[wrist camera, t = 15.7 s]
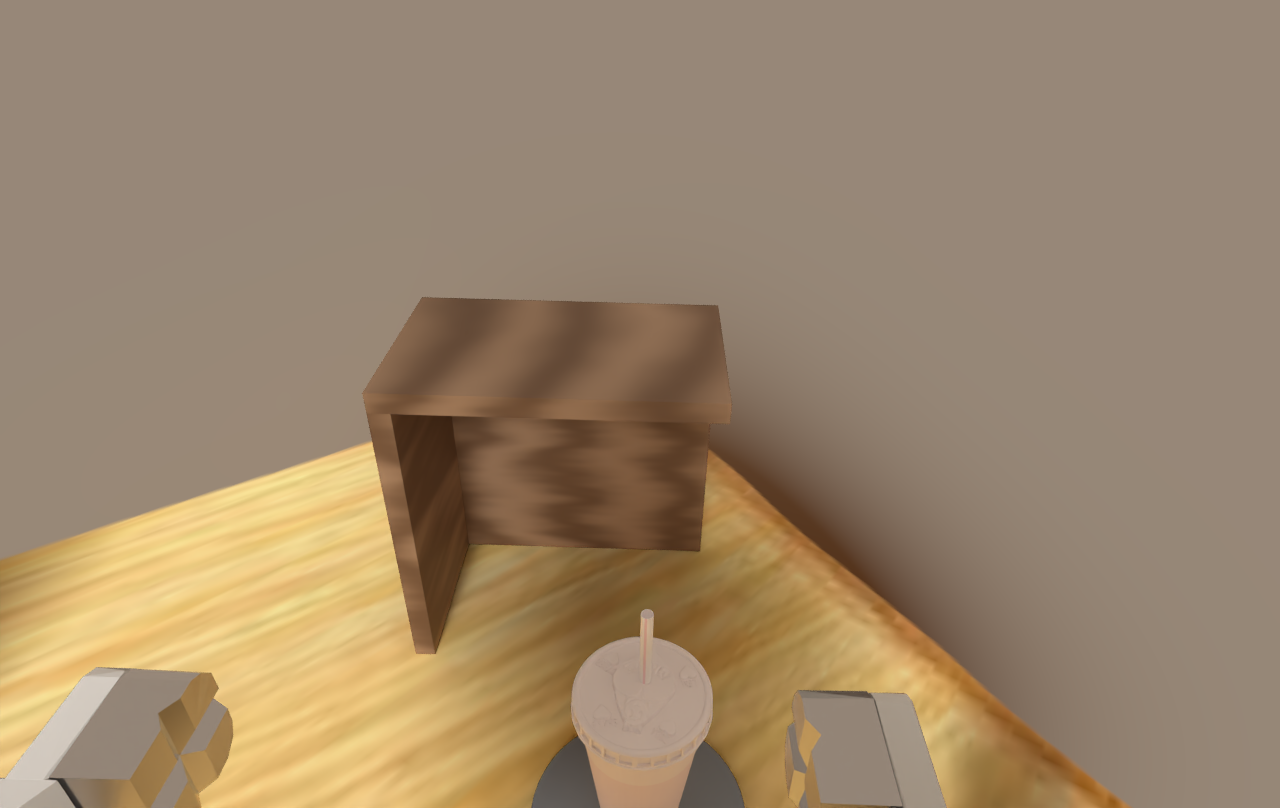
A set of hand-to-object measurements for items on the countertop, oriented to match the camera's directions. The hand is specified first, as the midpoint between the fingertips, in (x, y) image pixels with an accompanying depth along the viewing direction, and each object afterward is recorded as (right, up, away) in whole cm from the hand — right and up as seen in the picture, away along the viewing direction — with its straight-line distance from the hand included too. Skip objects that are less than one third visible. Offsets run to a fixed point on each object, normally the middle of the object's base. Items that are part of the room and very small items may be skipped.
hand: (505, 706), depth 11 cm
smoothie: (+2, -17, +29) cm, 33 cm away
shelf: (-3, -9, +42) cm, 43 cm away
